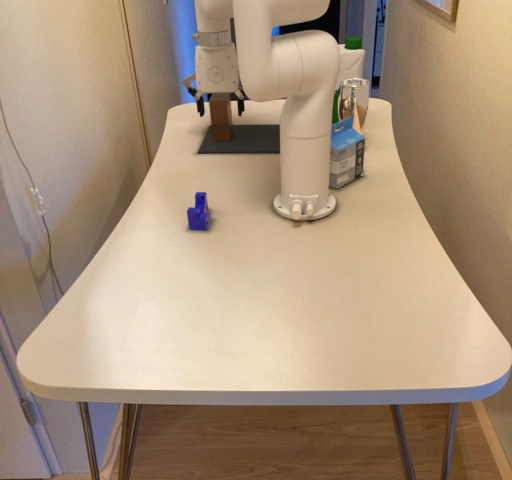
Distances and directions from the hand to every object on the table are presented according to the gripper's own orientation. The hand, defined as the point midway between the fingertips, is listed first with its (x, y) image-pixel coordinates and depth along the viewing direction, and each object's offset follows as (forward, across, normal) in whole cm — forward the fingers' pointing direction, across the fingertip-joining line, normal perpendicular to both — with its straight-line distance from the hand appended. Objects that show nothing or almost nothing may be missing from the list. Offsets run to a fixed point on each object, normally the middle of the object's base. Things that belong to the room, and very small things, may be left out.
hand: (221, 114), depth 137 cm
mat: (+6, +6, 0) cm, 9 cm away
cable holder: (+6, +2, -42) cm, 42 cm away
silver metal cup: (+6, +32, -6) cm, 33 cm away
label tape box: (+6, +30, -24) cm, 39 cm away
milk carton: (+6, +30, +11) cm, 33 cm away
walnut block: (+6, 0, 0) cm, 6 cm away
